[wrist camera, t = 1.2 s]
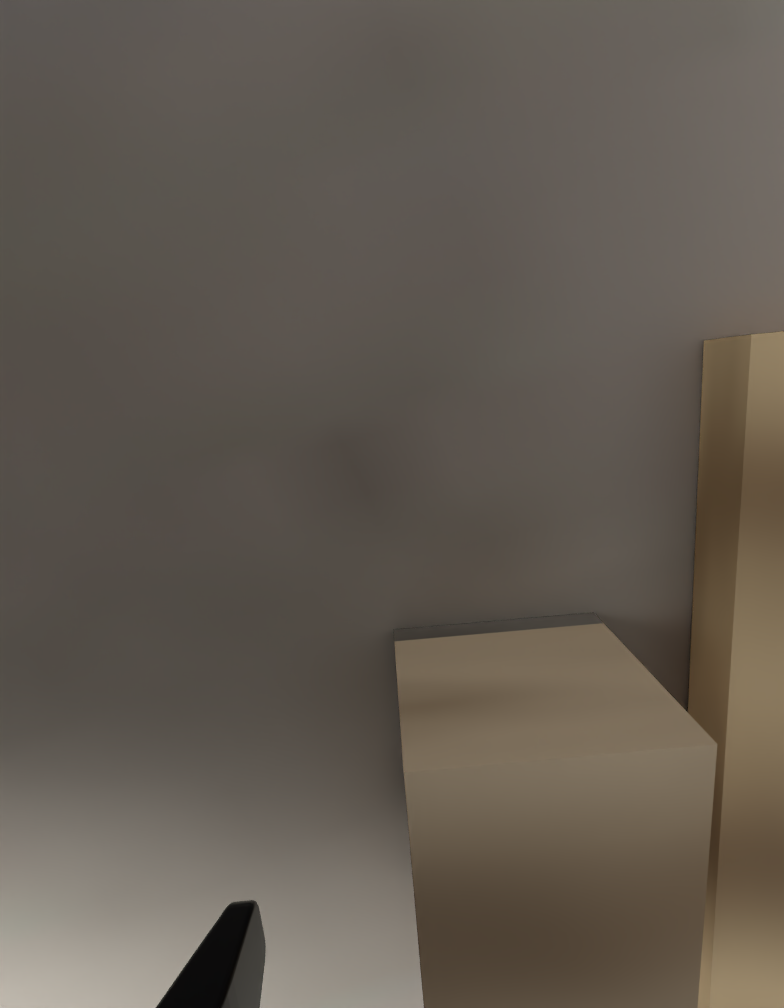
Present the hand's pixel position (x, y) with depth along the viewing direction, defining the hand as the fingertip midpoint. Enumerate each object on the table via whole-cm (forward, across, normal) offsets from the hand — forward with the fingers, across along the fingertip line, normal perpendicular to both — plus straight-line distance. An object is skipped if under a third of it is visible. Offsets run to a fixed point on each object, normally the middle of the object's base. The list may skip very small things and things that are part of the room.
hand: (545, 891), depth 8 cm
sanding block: (+3, 0, 0) cm, 3 cm away
